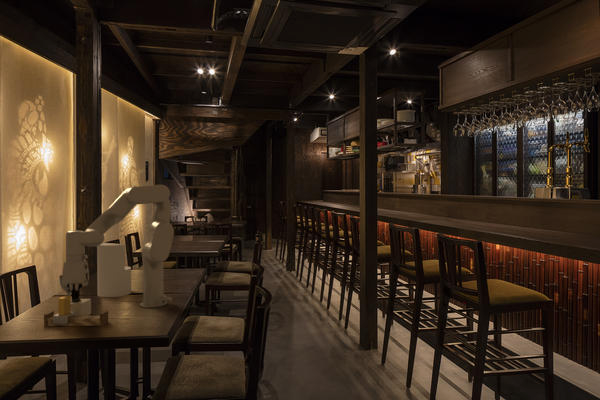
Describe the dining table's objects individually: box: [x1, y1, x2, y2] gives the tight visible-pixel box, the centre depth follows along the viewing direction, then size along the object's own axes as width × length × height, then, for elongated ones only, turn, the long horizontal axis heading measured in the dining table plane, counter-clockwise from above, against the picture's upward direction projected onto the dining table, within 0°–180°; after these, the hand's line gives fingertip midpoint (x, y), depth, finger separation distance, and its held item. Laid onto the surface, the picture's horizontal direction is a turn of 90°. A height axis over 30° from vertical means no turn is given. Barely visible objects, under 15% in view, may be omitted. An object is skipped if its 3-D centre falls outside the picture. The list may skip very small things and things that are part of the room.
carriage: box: [53, 295, 76, 325], centre depth 174 cm, size 6×7×11 cm
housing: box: [71, 298, 92, 316], centre depth 185 cm, size 9×9×7 cm
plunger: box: [71, 297, 81, 303], centre depth 185 cm, size 4×4×7 cm
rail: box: [43, 310, 109, 327], centre depth 174 cm, size 24×5×5 cm, turn 91°
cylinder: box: [96, 242, 132, 298], centre depth 230 cm, size 17×17×28 cm
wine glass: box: [58, 274, 76, 296], centre depth 205 cm, size 8×8×15 cm
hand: (75, 298), depth 185 cm, fingers closed
